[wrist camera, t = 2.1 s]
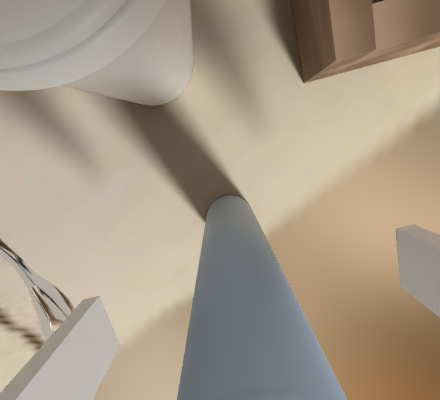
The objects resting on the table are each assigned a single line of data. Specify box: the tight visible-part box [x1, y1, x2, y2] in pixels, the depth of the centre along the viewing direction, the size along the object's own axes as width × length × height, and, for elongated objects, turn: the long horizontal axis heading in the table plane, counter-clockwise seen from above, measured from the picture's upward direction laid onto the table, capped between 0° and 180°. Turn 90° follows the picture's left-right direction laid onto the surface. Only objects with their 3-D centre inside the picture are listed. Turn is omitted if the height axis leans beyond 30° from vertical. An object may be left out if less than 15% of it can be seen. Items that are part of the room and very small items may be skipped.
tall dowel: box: [177, 195, 347, 400], centre depth 12 cm, size 4×4×16 cm
